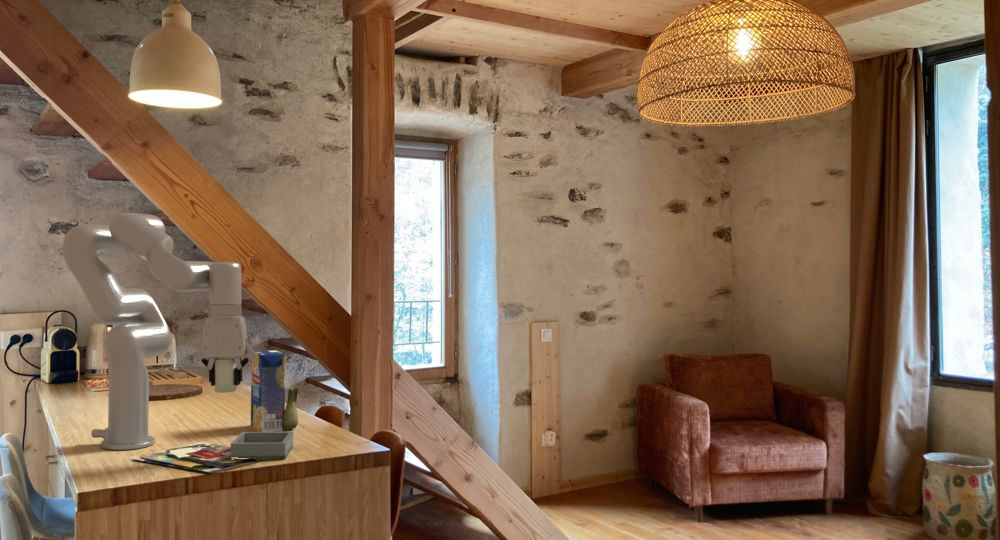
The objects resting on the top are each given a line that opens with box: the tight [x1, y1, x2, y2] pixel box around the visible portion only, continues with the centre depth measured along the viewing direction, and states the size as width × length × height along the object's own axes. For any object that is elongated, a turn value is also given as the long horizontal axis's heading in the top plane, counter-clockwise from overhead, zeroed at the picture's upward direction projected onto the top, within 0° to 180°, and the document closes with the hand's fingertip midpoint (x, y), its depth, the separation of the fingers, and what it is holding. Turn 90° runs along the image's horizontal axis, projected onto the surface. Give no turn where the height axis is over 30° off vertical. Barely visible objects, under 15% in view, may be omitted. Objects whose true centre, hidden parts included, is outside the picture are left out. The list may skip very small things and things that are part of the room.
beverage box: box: [250, 349, 286, 432], centre depth 227 cm, size 7×11×22 cm, turn 31°
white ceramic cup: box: [214, 358, 237, 393], centre depth 194 cm, size 5×5×8 cm
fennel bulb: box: [281, 387, 299, 430], centre depth 226 cm, size 6×5×12 cm
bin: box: [230, 431, 294, 461], centre depth 198 cm, size 13×13×4 cm
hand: (225, 384), depth 194 cm, fingers closed on white ceramic cup, 5 cm apart
